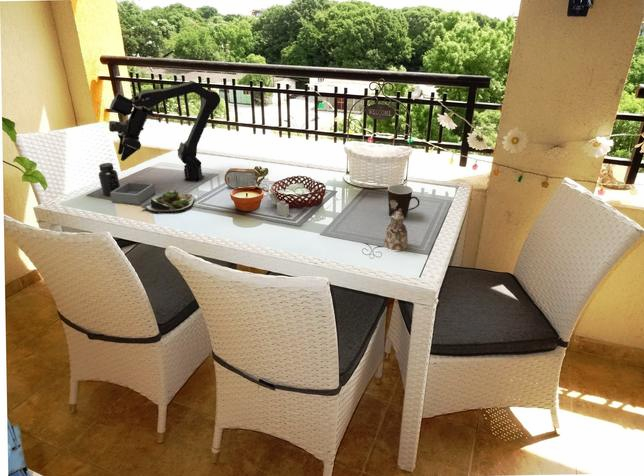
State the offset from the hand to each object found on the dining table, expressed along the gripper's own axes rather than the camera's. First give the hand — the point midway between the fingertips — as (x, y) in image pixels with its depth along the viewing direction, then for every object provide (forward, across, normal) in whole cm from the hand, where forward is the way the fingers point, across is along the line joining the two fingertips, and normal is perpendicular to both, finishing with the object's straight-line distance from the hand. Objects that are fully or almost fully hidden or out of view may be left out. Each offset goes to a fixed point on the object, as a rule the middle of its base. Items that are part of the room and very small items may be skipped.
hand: (120, 157), depth 178 cm
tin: (-11, +21, +43) cm, 49 cm away
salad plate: (+6, +24, +18) cm, 30 cm away
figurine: (-25, +90, +65) cm, 114 cm away
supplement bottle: (+15, 0, +3) cm, 15 cm away
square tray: (+11, +10, +9) cm, 17 cm away
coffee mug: (-33, +74, +77) cm, 112 cm away
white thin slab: (-13, +51, +46) cm, 70 cm away
